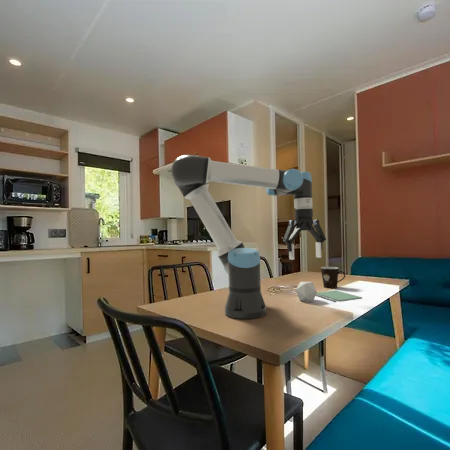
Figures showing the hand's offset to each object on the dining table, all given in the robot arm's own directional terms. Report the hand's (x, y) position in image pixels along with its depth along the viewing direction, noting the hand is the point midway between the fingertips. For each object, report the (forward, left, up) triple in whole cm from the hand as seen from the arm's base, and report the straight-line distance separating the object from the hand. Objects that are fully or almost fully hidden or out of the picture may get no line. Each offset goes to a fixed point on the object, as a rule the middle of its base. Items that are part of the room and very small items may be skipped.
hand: (305, 258), depth 121 cm
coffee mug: (+27, +16, -18) cm, 36 cm away
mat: (+17, +1, -18) cm, 24 cm away
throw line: (+9, +1, -18) cm, 20 cm away
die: (0, 0, -18) cm, 18 cm away
